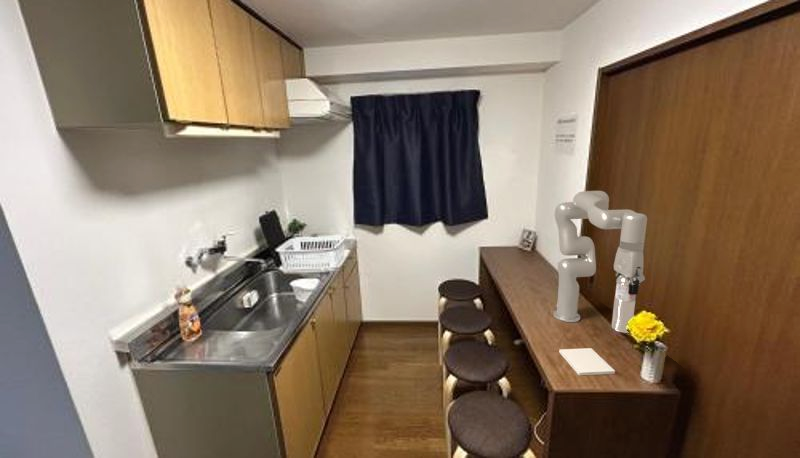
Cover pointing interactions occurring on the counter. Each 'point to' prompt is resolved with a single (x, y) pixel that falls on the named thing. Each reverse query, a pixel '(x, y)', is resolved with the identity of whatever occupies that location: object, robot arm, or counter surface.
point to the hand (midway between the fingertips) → (626, 289)
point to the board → (586, 361)
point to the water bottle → (623, 304)
